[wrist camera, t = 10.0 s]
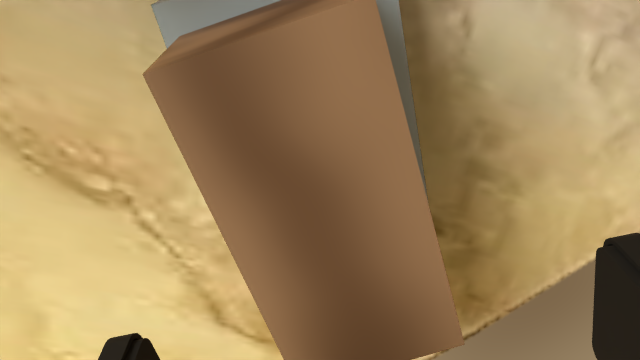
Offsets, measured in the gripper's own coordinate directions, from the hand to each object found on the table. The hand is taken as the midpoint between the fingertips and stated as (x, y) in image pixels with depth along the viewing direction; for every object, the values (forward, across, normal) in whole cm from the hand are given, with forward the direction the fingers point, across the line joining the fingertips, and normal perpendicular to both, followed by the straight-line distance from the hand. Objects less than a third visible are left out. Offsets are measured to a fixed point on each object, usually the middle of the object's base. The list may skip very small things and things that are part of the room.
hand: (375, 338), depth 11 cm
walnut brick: (+10, +1, 0) cm, 10 cm away
